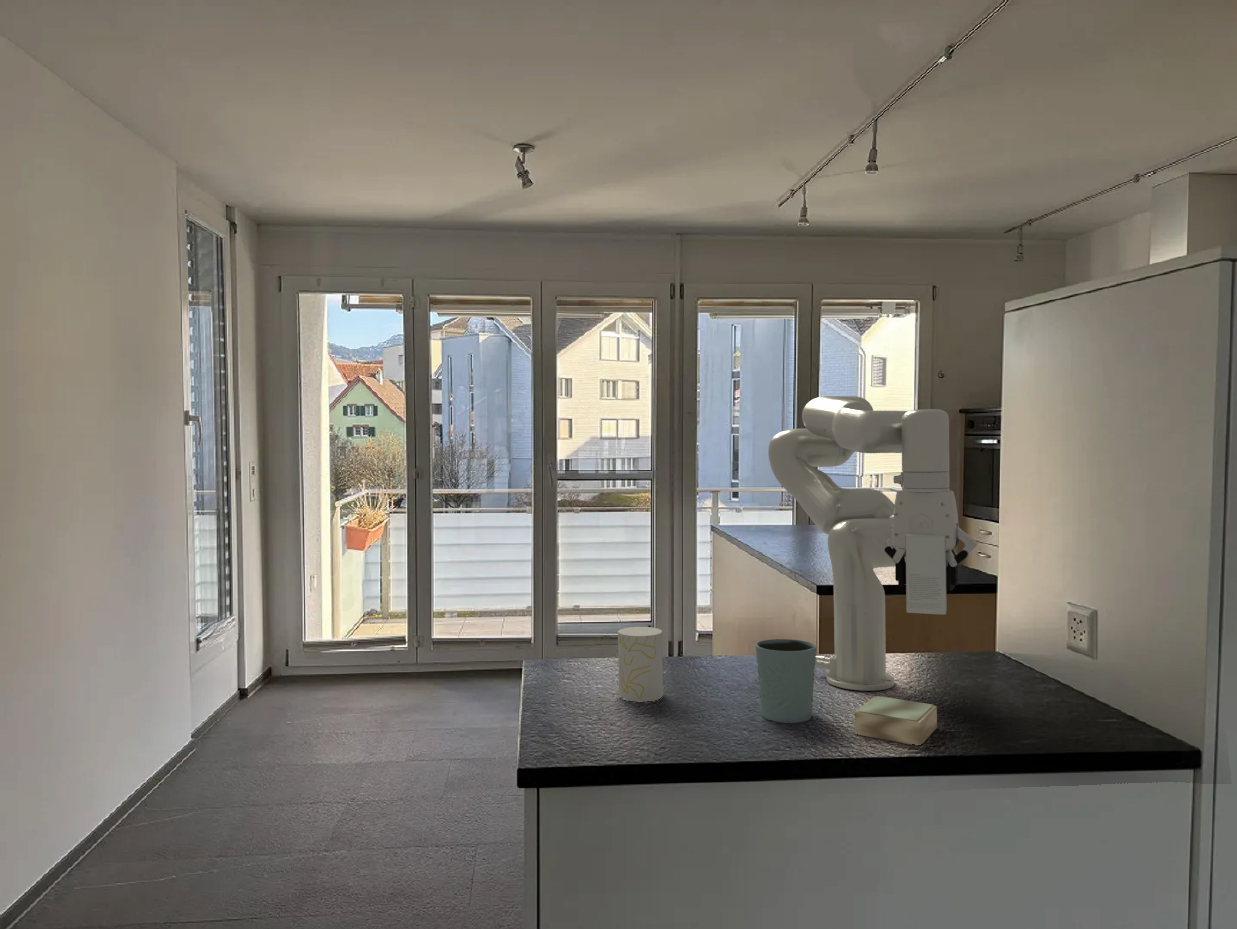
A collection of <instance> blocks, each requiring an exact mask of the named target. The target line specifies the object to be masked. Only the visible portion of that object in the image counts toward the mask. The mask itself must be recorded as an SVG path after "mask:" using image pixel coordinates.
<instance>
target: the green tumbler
mask: <svg viewBox="0 0 1237 929" xmlns="http://www.w3.org/2000/svg"><path fill="white" fill-rule="evenodd" d="M754 646H755V653H756V654H755V656H756V663H757V679H758V693H759V694H758V695H759V708H760V714H761V716H762V718H764V719H765V720H768V721H771V720H772V721H771V722H774V723H775V722H776V723H781V724H782V723H783V724H798V723H803V722H807V721H809V720H811V718H812V715H813V699H814V687H815V686H814V684H815V667H816V664H815V659H816V656H817V645H816V644H815V643H813V642H810V641H804V640H801V639H800V640H799V639H788V638H776V639H775V638H773V639H764V640H760V641H758V642H756V643H755V645H754Z"/></svg>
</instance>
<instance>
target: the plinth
mask: <svg viewBox="0 0 1237 929" xmlns="http://www.w3.org/2000/svg"><path fill="white" fill-rule="evenodd" d="M937 710H938V706H937V705H934V704H933V703H931V704H930V703H926V702H925V703H924V702H919V701H911V700H906V699H900V698H899V699H898V698H892V697H886V696H879V695H877V696H873V697H872V698H871V699H869V700H868V701H867V702H866V703H865V704H863V705H861V706H860V707H859V708H858V709H857V710H855V711H854V735H857V734H858V736H863V737H869V738H874V739H879V740H886V741H889V742H891V741H892V742H895V743H896V742H897V743H901V744H908V745H912V744H915V745H914V746H918V745H921V744H922V745H923V744H924V743H925V741H926V740H927V739H928V738H929V737H930V736H931V735H932V734H933V733H934V731H936V729H937V728H938V715H937V714H938V711H937ZM922 745H921V746H922Z"/></svg>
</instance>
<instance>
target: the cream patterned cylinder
mask: <svg viewBox="0 0 1237 929" xmlns="http://www.w3.org/2000/svg"><path fill="white" fill-rule="evenodd" d="M617 643H618V644H617V648H618V649H617V650H618V652H617V653H618V656H617V657H618V658H617V659H618V660H617V661H618V662H617V664H618V666H617V667H618V696H619V695H620V696H621V697H623V698H625V699H628V700H632V701H653V702H656V701H655V700H657V701H659V700H658V699H660V698H661V697H662V696H663V697H664V685H663V681H664V679H663V678H664V677H663V676H664V674H663V671H664V670H663V630H662V629H660V628H658V627H657V628H656V627H650V626H629V627H624V628H621V629H619V630H617ZM663 697H662V698H663ZM662 698H661V699H662ZM661 699H660V700H661Z"/></svg>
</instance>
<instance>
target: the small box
mask: <svg viewBox="0 0 1237 929" xmlns="http://www.w3.org/2000/svg"><path fill="white" fill-rule="evenodd" d="M905 540H906V585H905V592H906V593H905V594H906V595H905V597H906V598H905V600H906V601H905V602H906V604H905V605H906V606H905V607H906V613H909V614H910V613H911V614H926V615H927V614H928V615H947V609H948V608H947V590H946V567H947V559H946V551H945V536H943V535H923V534H906V535H905Z"/></svg>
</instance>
